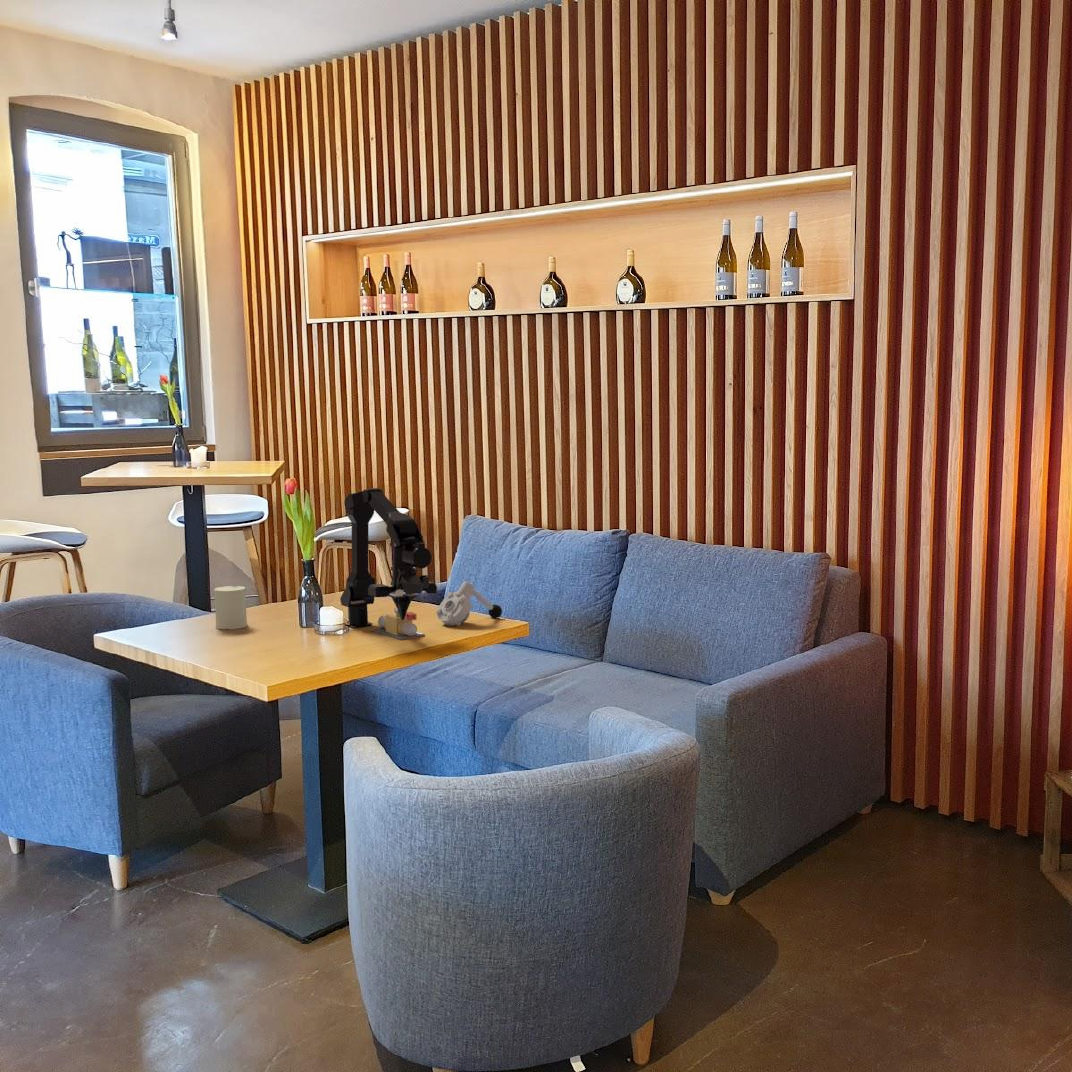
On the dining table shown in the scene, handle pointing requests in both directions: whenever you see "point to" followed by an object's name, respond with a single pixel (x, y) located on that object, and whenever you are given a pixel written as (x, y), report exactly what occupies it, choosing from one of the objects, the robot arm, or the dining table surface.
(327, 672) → the dining table surface
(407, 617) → the valve lever
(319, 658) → the dining table surface
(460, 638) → the dining table surface
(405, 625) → the pipe valve
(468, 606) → the mechanical valve
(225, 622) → the can
